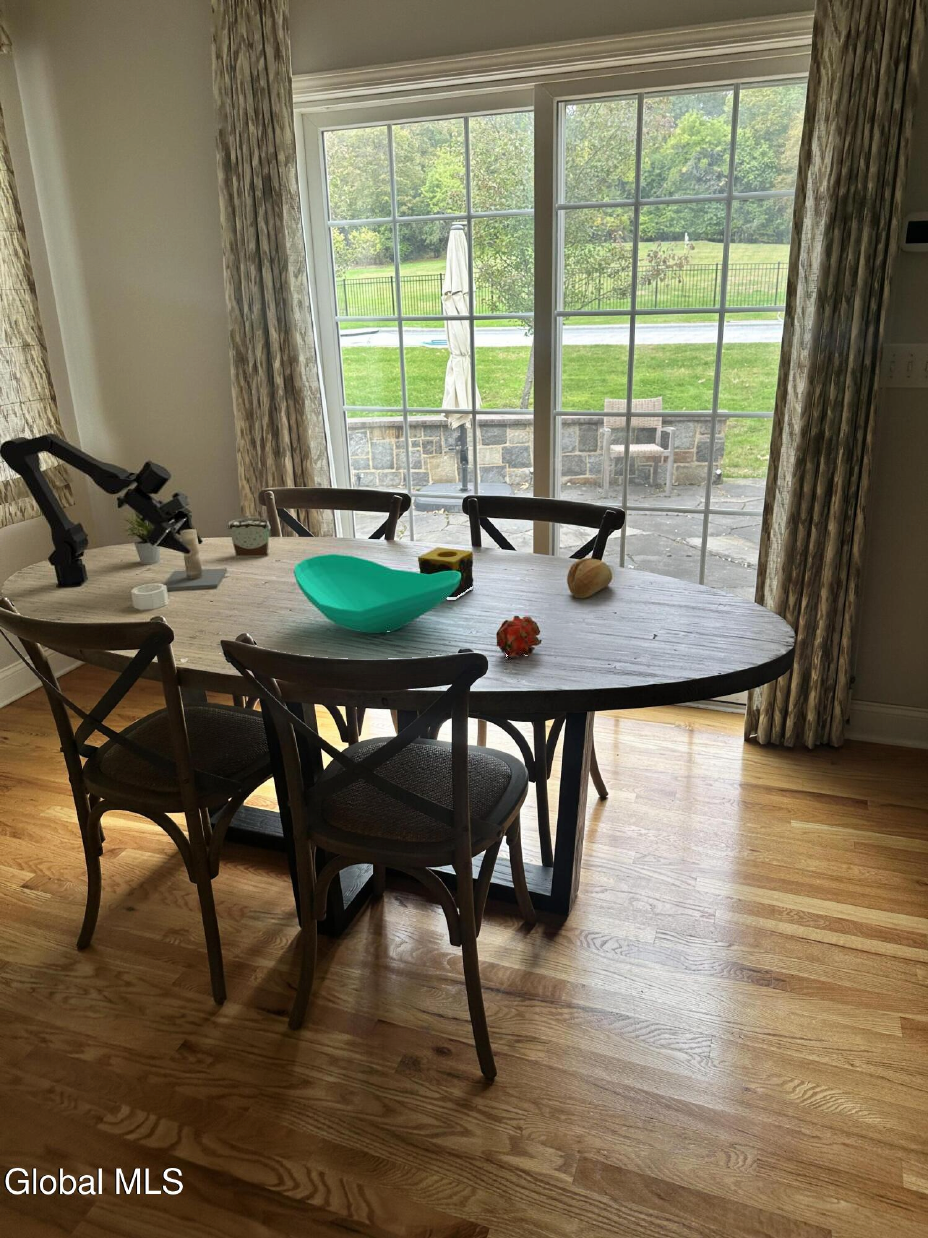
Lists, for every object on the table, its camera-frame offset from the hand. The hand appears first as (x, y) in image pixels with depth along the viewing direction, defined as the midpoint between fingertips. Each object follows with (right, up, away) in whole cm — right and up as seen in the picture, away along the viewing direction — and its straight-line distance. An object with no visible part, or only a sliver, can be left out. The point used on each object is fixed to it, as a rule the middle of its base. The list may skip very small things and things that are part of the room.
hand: (195, 547), depth 222 cm
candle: (+65, -12, -12) cm, 68 cm away
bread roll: (+100, -12, -15) cm, 102 cm away
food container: (+9, 0, +26) cm, 28 cm away
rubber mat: (-1, -8, +3) cm, 9 cm away
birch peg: (-1, -7, +3) cm, 8 cm away
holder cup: (-7, -15, -13) cm, 21 cm away
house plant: (-21, -2, +23) cm, 31 cm away
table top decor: (+51, -20, -33) cm, 64 cm away
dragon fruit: (+80, -26, -50) cm, 98 cm away
